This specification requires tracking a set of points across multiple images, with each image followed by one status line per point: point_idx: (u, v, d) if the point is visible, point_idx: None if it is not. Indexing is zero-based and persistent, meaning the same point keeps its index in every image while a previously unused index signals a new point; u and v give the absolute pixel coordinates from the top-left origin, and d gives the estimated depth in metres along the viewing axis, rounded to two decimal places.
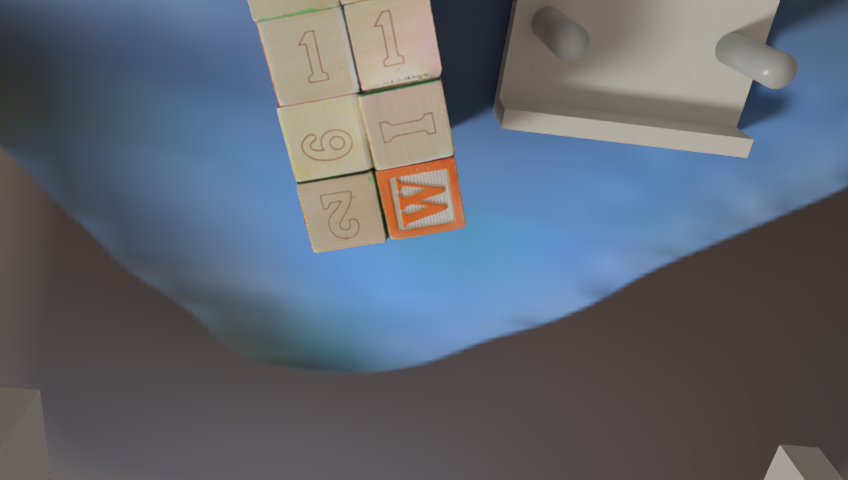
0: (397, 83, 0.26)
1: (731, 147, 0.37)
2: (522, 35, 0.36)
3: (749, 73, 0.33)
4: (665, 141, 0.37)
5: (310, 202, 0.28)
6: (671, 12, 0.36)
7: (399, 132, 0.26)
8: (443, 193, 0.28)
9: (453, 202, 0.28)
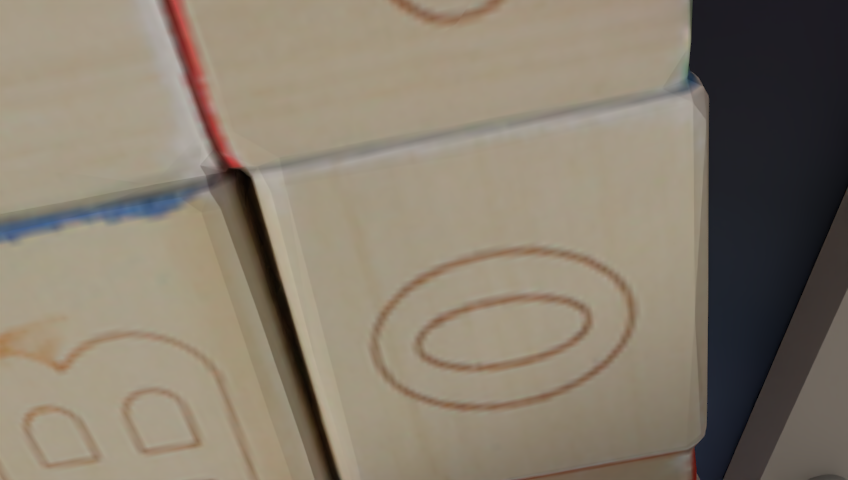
0: None
1: None
2: None
3: None
4: None
5: None
6: None
7: None
8: None
9: None
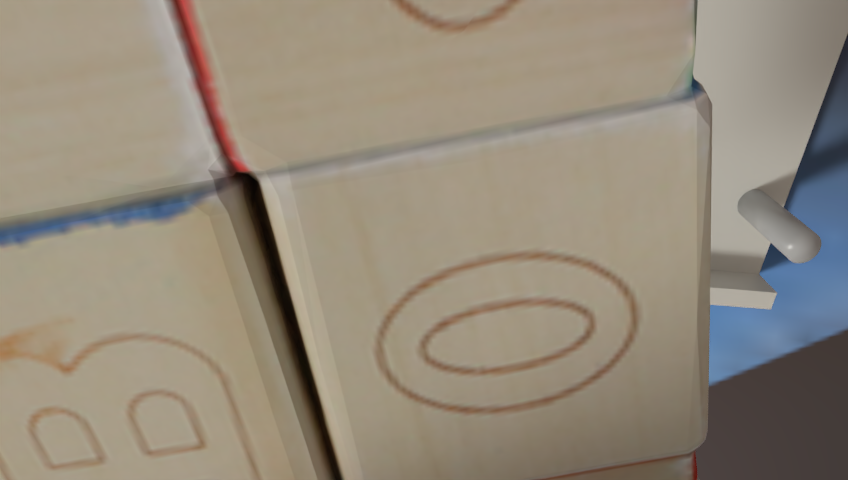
0: None
1: (754, 300, 0.37)
2: None
3: (773, 243, 0.34)
4: None
5: None
6: None
7: None
8: None
9: None
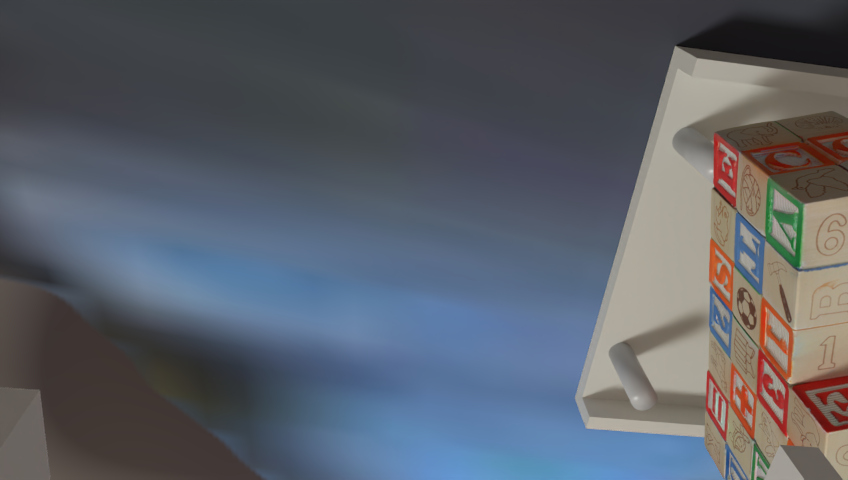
0: None
1: None
2: (601, 360, 0.49)
3: None
4: None
5: None
6: None
7: None
8: None
9: None
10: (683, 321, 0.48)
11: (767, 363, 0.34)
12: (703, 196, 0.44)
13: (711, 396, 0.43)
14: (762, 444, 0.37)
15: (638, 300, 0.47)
